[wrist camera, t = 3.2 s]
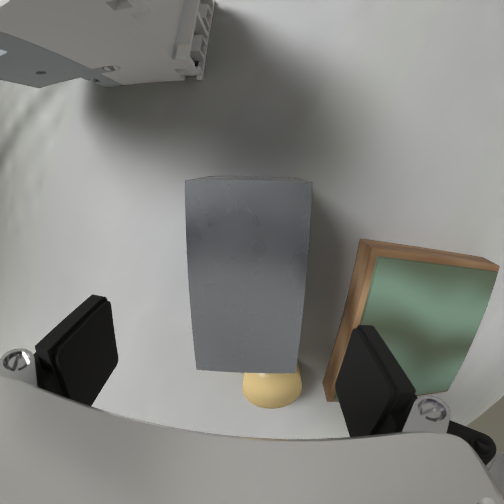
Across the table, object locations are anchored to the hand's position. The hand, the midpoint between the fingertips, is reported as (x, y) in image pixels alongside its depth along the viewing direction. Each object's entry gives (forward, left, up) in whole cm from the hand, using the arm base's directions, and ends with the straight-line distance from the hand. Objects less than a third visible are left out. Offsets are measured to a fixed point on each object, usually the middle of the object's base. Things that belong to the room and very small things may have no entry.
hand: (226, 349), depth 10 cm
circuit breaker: (-16, -12, -12) cm, 23 cm away
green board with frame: (+5, +15, -12) cm, 20 cm away
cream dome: (+11, +3, -12) cm, 16 cm away
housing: (0, 0, -12) cm, 12 cm away
